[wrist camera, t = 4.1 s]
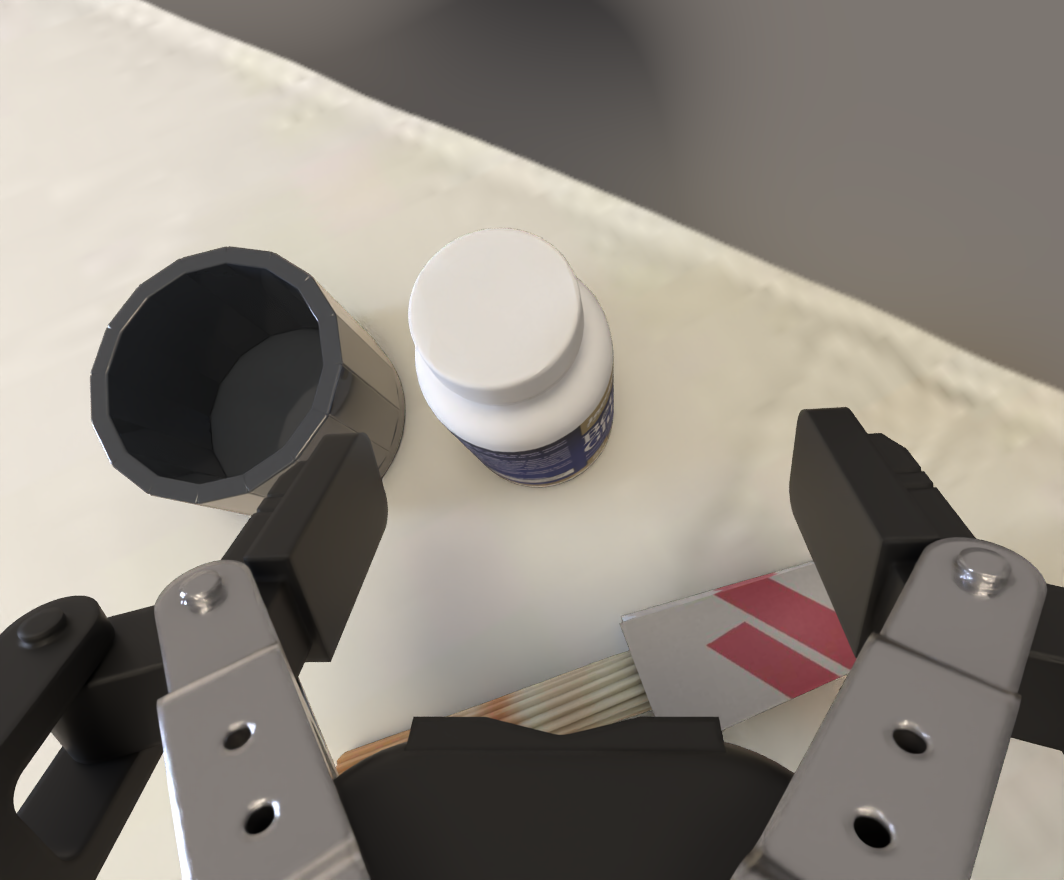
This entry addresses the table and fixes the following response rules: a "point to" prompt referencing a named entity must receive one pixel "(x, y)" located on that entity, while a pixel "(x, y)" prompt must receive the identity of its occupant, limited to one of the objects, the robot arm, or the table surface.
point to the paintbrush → (689, 662)
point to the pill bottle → (514, 355)
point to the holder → (235, 379)
